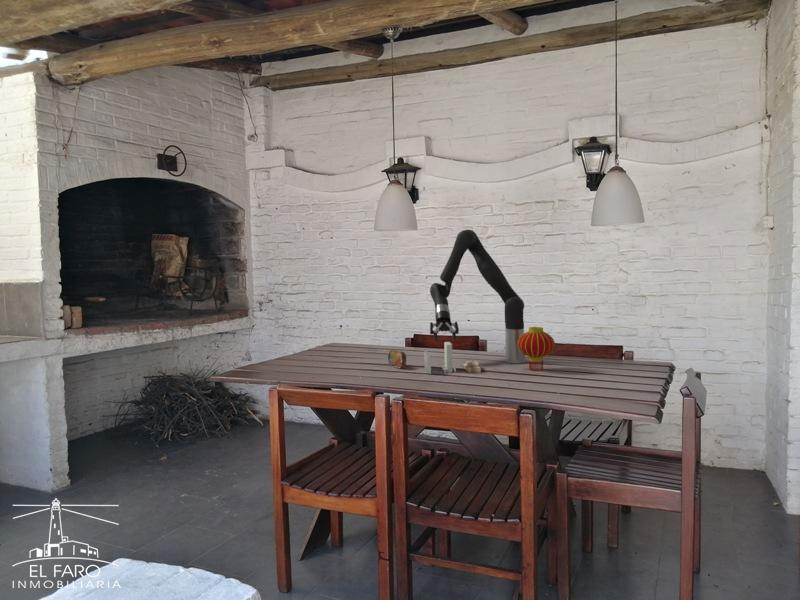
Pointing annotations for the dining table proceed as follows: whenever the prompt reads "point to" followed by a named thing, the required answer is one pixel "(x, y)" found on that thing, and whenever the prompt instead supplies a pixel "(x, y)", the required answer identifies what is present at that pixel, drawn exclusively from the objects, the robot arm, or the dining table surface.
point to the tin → (397, 358)
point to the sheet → (448, 356)
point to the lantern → (536, 346)
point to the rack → (428, 363)
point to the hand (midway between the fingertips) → (445, 339)
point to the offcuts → (472, 366)
